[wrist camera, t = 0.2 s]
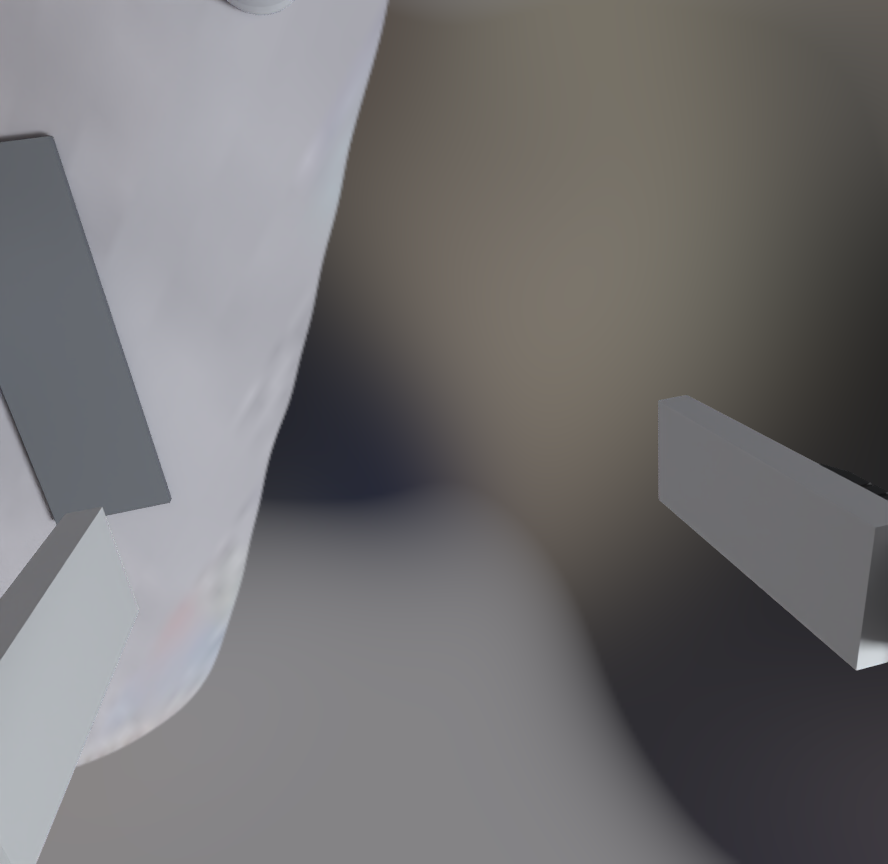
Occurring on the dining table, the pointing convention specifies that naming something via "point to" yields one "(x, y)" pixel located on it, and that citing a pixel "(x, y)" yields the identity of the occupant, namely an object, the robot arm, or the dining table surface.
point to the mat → (65, 348)
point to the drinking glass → (261, 6)
